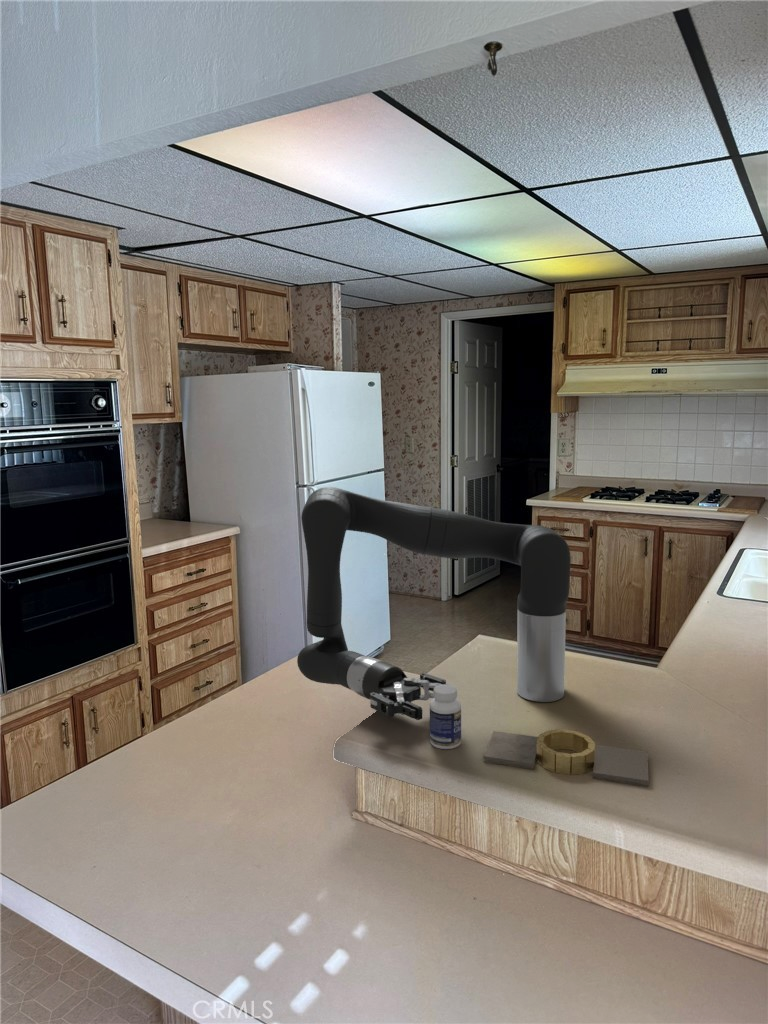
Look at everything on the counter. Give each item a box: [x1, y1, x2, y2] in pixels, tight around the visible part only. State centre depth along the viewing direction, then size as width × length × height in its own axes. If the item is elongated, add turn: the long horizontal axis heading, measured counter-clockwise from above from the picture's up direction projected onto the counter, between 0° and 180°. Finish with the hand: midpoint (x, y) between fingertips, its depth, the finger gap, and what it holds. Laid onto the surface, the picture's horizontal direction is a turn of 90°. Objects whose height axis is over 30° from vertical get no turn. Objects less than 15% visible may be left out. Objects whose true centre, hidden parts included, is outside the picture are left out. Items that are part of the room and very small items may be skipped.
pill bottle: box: [429, 683, 462, 750], centre depth 119 cm, size 5×5×10 cm
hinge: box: [483, 728, 650, 788], centre depth 112 cm, size 9×25×3 cm, turn 71°
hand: (438, 706), depth 120 cm, fingers open, 8 cm apart
